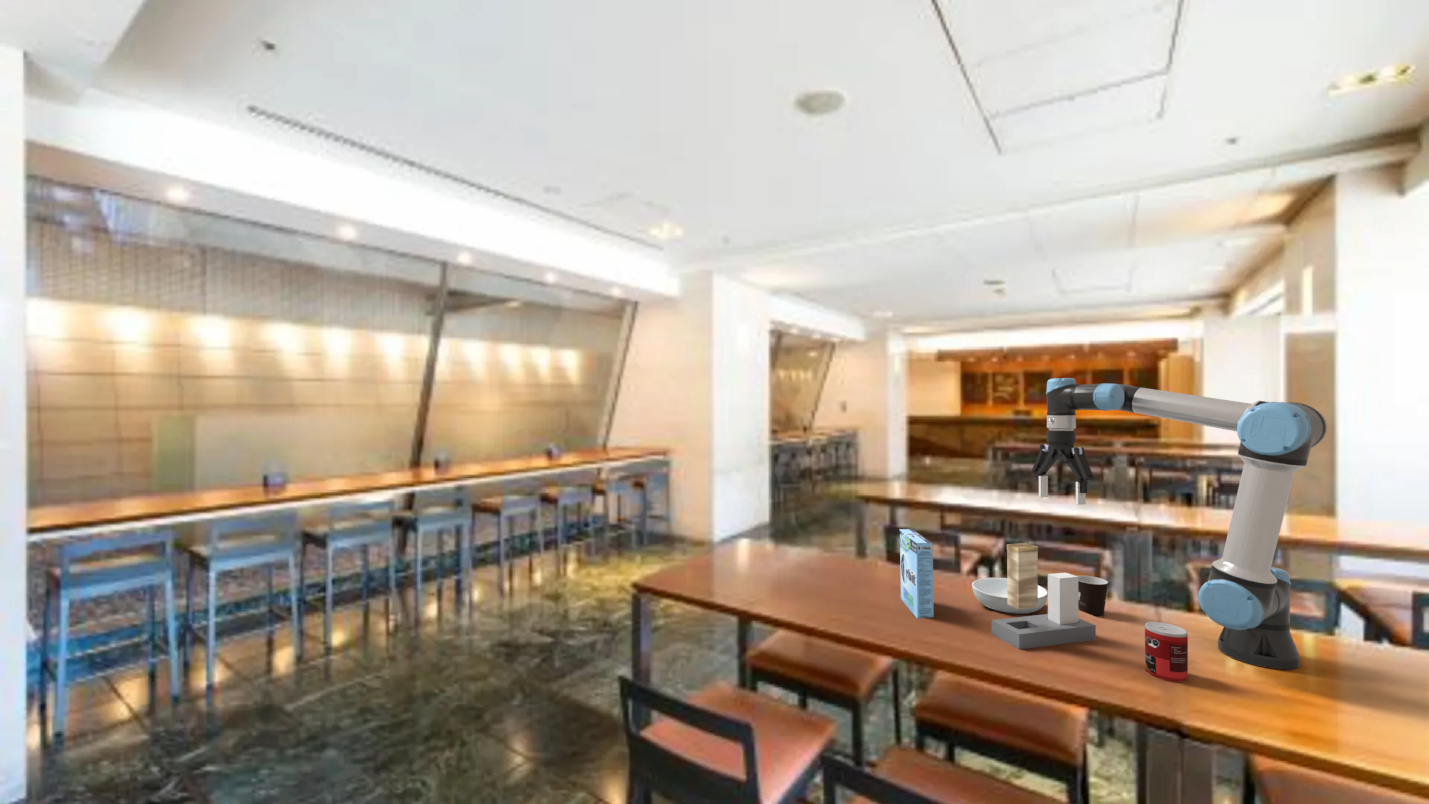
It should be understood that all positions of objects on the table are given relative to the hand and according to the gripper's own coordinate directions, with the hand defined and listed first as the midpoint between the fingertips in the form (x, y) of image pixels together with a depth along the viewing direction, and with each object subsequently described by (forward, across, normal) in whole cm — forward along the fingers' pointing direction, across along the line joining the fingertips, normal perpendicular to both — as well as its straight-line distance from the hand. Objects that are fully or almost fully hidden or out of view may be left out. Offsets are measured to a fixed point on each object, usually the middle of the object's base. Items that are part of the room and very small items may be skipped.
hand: (1061, 500), depth 175 cm
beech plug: (+25, +14, -26) cm, 39 cm away
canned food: (+35, +37, -7) cm, 51 cm away
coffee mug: (+35, -1, +12) cm, 37 cm away
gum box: (+35, -16, -39) cm, 55 cm away
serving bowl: (+35, -9, -11) cm, 38 cm away
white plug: (+34, +14, -13) cm, 39 cm away
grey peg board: (+35, +14, -20) cm, 42 cm away
